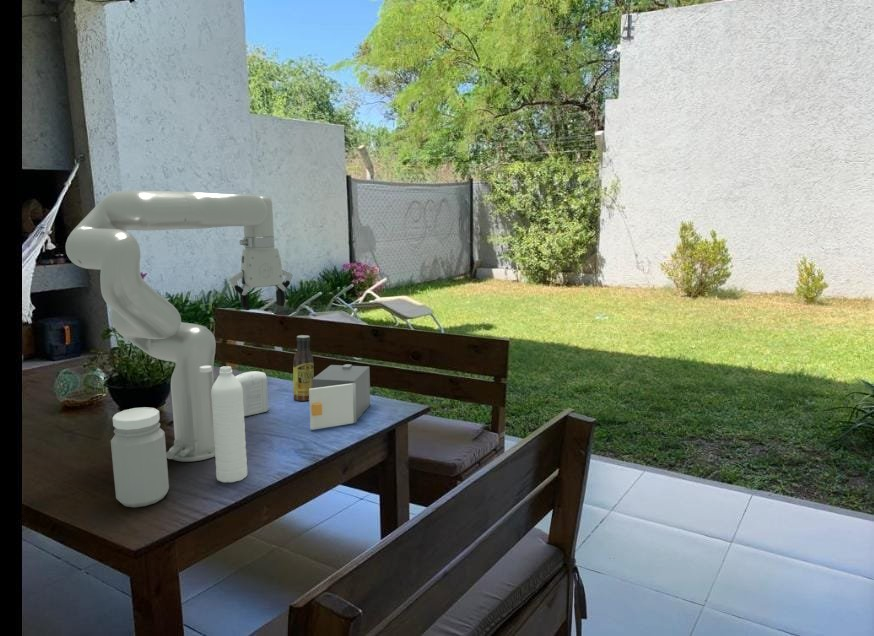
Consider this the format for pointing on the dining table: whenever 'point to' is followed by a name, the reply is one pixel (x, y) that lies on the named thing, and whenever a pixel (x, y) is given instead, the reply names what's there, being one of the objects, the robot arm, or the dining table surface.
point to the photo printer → (254, 392)
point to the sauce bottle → (302, 369)
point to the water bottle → (228, 426)
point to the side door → (332, 405)
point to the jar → (139, 457)
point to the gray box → (347, 382)
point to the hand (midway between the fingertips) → (263, 307)
